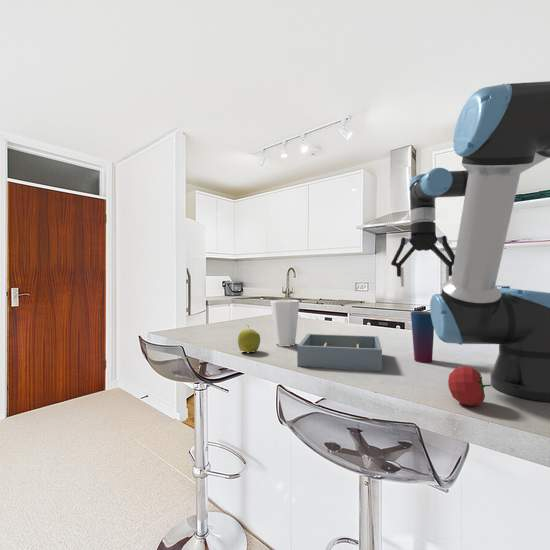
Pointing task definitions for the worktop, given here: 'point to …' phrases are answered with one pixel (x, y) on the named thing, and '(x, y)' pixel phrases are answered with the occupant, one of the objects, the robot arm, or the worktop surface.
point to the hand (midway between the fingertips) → (424, 286)
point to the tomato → (466, 386)
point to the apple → (248, 340)
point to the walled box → (340, 352)
